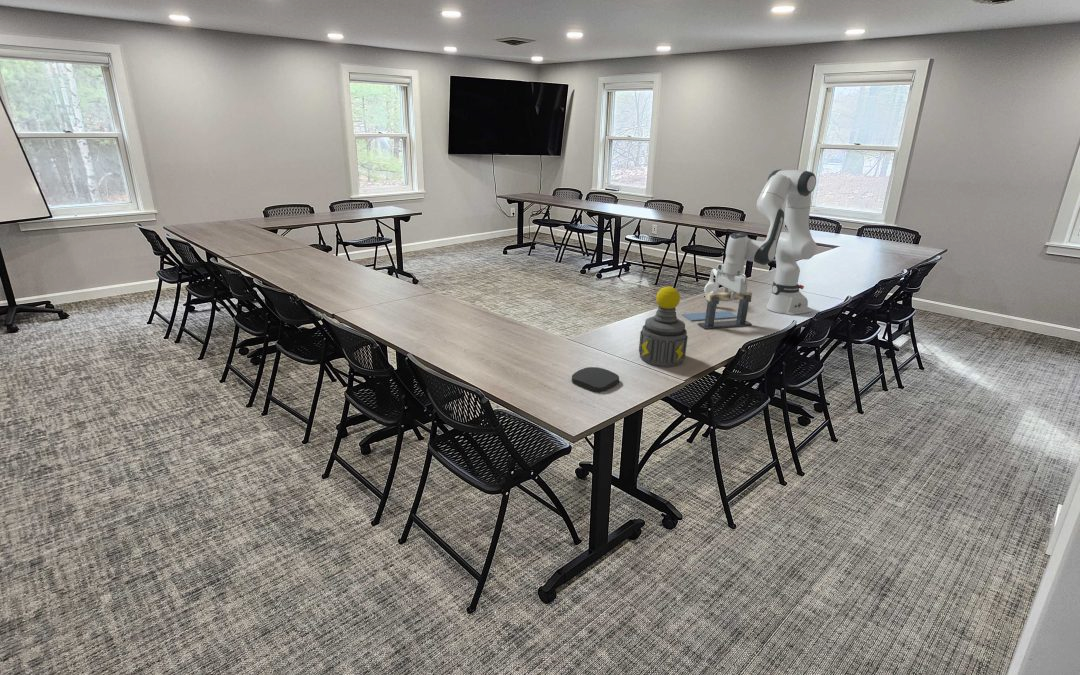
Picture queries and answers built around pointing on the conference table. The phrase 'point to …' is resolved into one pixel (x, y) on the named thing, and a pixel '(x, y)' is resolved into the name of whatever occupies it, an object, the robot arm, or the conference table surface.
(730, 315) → the mat
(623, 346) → the conference table surface
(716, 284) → the headset
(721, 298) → the rail
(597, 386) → the media streaming box
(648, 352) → the decorative lamp
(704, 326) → the hook rack
